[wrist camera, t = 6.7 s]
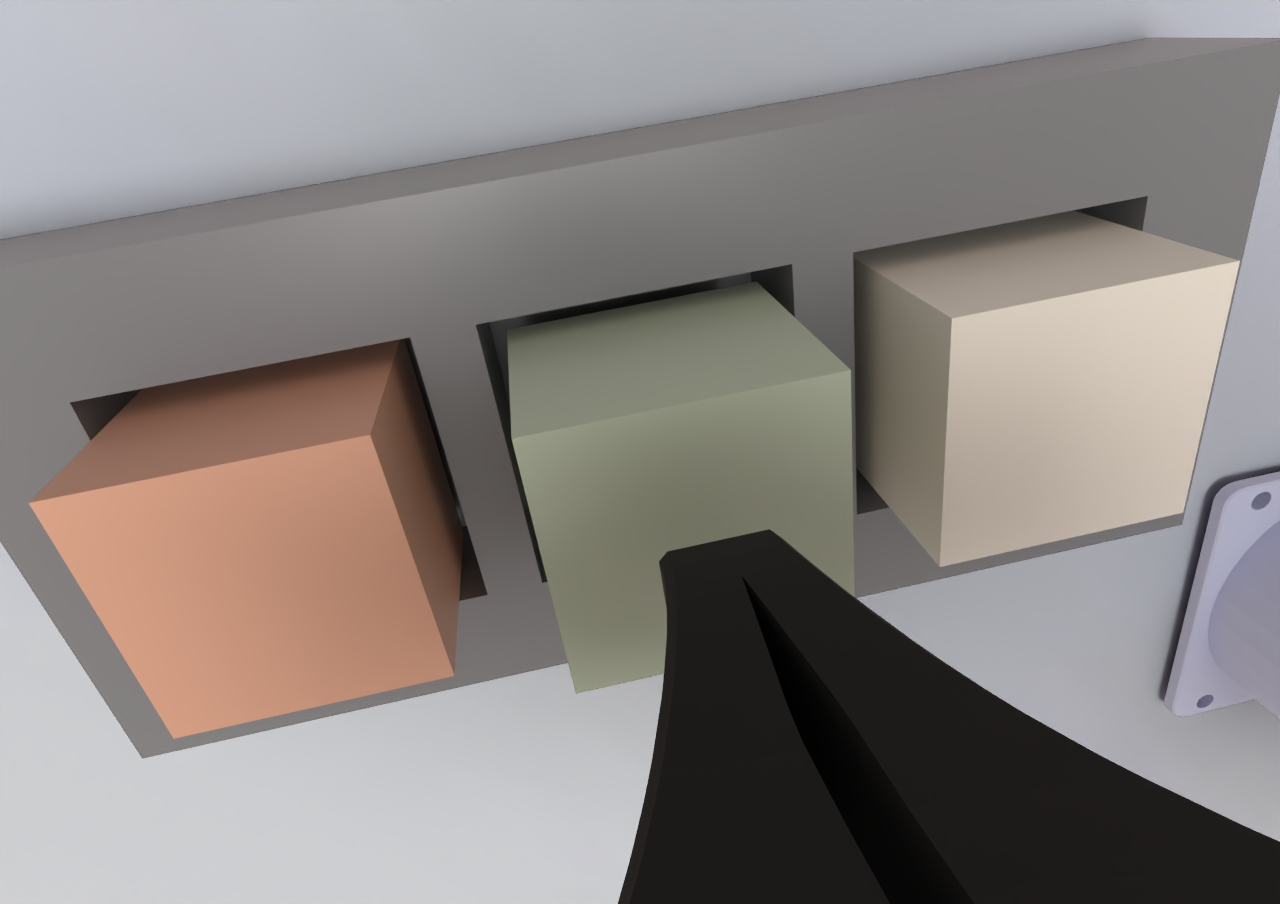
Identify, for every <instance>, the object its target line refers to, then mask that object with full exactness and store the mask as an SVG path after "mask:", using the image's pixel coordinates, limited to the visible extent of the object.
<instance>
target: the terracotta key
mask: <svg viewBox="0 0 1280 904" xmlns="http://www.w3.org/2000/svg"><path fill="white" fill-rule="evenodd" d="M29 505H30V506H31V508H32V510H33V511H34V513H35V514H36V516H37V518H38V519H39V521H40V523H41V524H42V526H43V527H44V529H45V531H46V532H47V534H48V536H49V537H50V539H51V540H52V542H53V544H54V545H55V547H56V549H57V550H58V552H59V553H60V555H61V557H62V558H63V560H64V562H65V563H66V565H67V566H68V568H69V570H70V571H71V573H72V574H73V576H74V578H75V579H76V581H77V583H78V584H79V586H80V587H81V589H82V591H83V592H84V594H85V596H86V597H87V599H88V600H89V602H90V604H91V605H92V607H93V609H94V610H95V612H96V613H97V615H98V617H99V618H100V620H101V622H102V623H103V625H104V626H105V628H106V630H107V631H108V633H109V635H110V636H111V638H112V639H113V641H114V643H115V644H116V646H117V648H118V649H119V651H120V652H121V654H122V656H123V657H124V659H125V661H126V662H127V664H128V665H129V667H130V669H131V670H132V672H133V674H134V675H135V677H136V678H137V680H138V682H139V683H140V685H141V687H142V688H143V690H144V691H145V693H146V695H147V696H148V698H149V700H150V701H151V703H152V704H153V706H154V708H155V709H156V711H157V713H158V714H159V716H160V717H161V719H162V721H163V722H164V724H165V726H166V727H167V729H168V730H169V732H170V734H171V735H172V737H173V739H175V738H180V737H184V736H188V735H193V734H197V733H202V732H206V731H211V730H215V729H220V728H224V727H229V726H233V725H238V724H242V723H247V722H251V721H255V720H260V719H264V718H269V717H273V716H278V715H282V714H287V713H291V712H296V711H300V710H305V709H309V708H314V707H318V706H322V705H327V704H331V703H336V702H340V701H345V700H349V699H354V698H358V697H363V696H367V695H372V694H376V693H381V692H385V691H389V690H394V689H398V688H403V687H407V686H412V685H416V684H421V683H425V682H430V681H434V680H439V679H443V678H448V677H452V676H455V660H456V644H457V628H458V612H459V596H460V580H461V564H462V548H463V533H464V532H463V529H462V526H461V523H460V519H459V516H458V513H457V509H456V506H455V503H454V500H453V496H452V493H451V490H450V487H449V483H448V480H447V477H446V473H445V470H444V467H443V464H442V460H441V457H440V454H439V451H438V447H437V444H436V441H435V438H434V434H433V431H432V428H431V424H430V421H429V418H428V415H427V411H426V408H425V405H424V402H423V398H422V395H421V392H420V388H419V385H418V382H417V379H416V375H415V372H414V369H413V366H412V362H411V359H410V356H409V353H408V349H407V346H406V343H405V339H399V340H393V341H388V342H383V343H378V344H372V345H367V346H362V347H357V348H352V349H346V350H341V351H336V352H331V353H325V354H320V355H315V356H310V357H305V358H299V359H294V360H289V361H284V362H279V363H273V364H268V365H263V366H258V367H252V368H247V369H242V370H237V371H232V372H226V373H221V374H216V375H211V376H205V377H200V378H195V379H190V380H185V381H179V382H174V383H169V384H164V385H158V386H153V387H148V388H143V389H142V390H141V391H140V392H139V393H138V394H137V395H136V396H135V397H134V398H133V399H132V400H131V401H130V402H129V403H128V404H127V405H126V406H125V407H124V408H123V409H122V410H121V411H120V412H119V413H118V414H117V415H116V416H115V417H114V418H113V419H112V420H111V421H110V422H109V423H108V424H107V425H106V426H105V427H104V428H103V429H102V430H101V431H100V432H99V433H98V434H97V435H96V436H95V437H94V438H93V439H92V440H91V441H90V442H89V443H88V444H87V445H86V446H85V447H84V448H83V449H82V450H81V451H80V452H79V453H78V454H77V455H76V456H75V457H74V458H73V459H72V460H71V461H70V462H69V463H68V464H67V465H66V466H65V467H64V468H63V469H62V470H61V471H60V472H59V473H58V474H57V475H56V476H55V477H54V478H53V479H52V480H51V481H50V482H49V483H48V484H47V485H46V486H45V487H44V488H43V489H42V490H41V491H40V492H39V493H38V494H37V495H36V496H35V497H34V498H33V499H32V500H31V501H30V502H29Z"/></svg>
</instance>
